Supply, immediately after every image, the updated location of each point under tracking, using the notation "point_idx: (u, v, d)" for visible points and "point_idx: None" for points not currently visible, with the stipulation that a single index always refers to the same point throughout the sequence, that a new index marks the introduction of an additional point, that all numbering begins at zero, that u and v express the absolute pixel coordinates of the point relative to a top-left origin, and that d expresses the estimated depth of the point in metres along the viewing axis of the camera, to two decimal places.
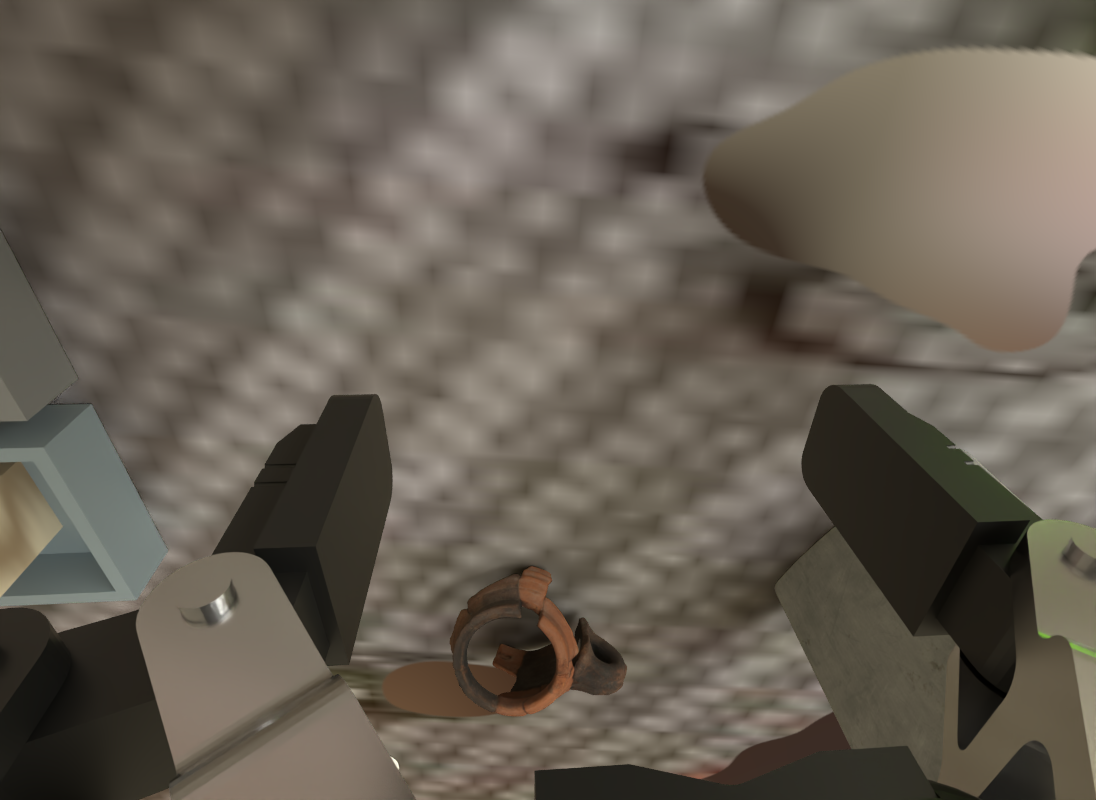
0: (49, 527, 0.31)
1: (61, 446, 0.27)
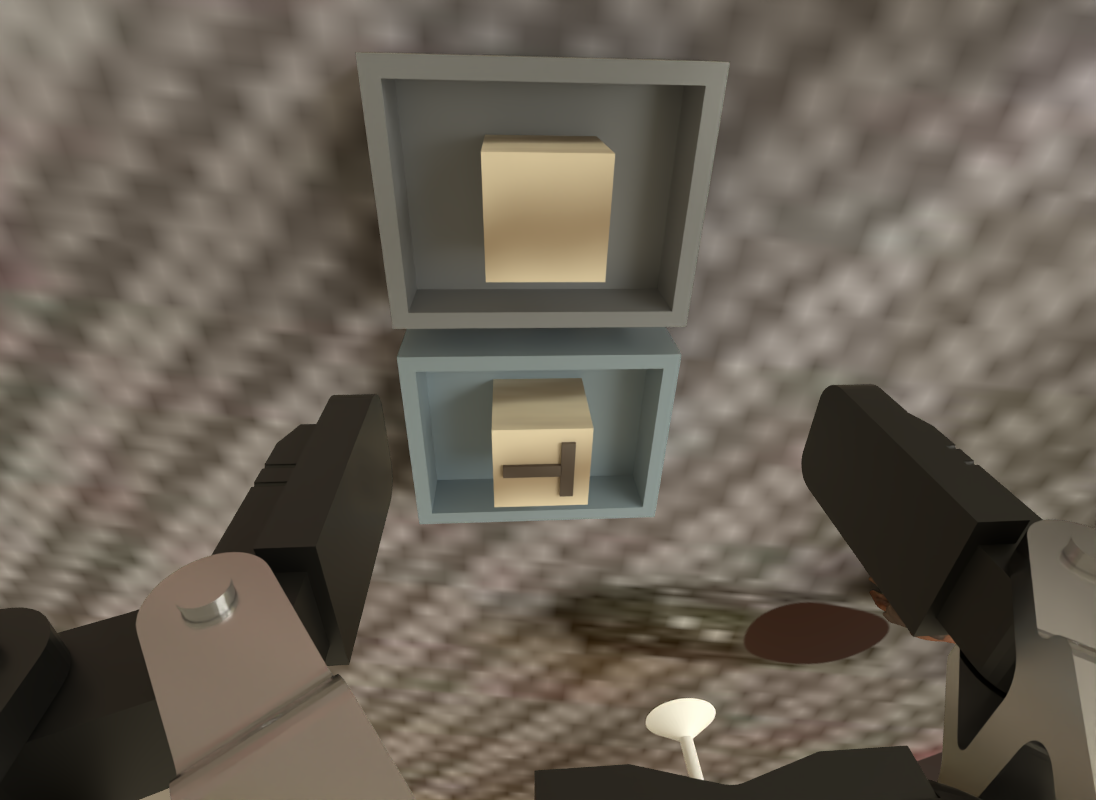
0: None
1: None
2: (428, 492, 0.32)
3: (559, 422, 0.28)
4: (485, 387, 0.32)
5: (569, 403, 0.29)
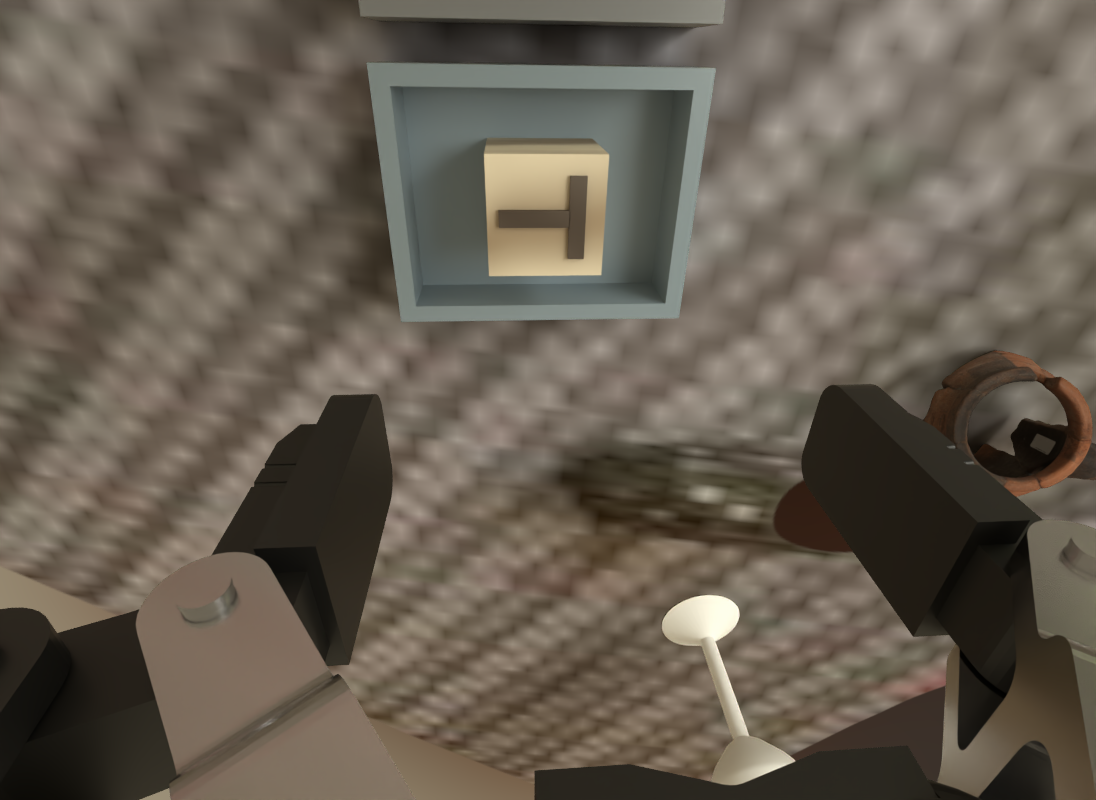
0: None
1: None
2: (410, 274, 0.26)
3: (566, 151, 0.23)
4: (477, 150, 0.27)
5: (579, 146, 0.24)
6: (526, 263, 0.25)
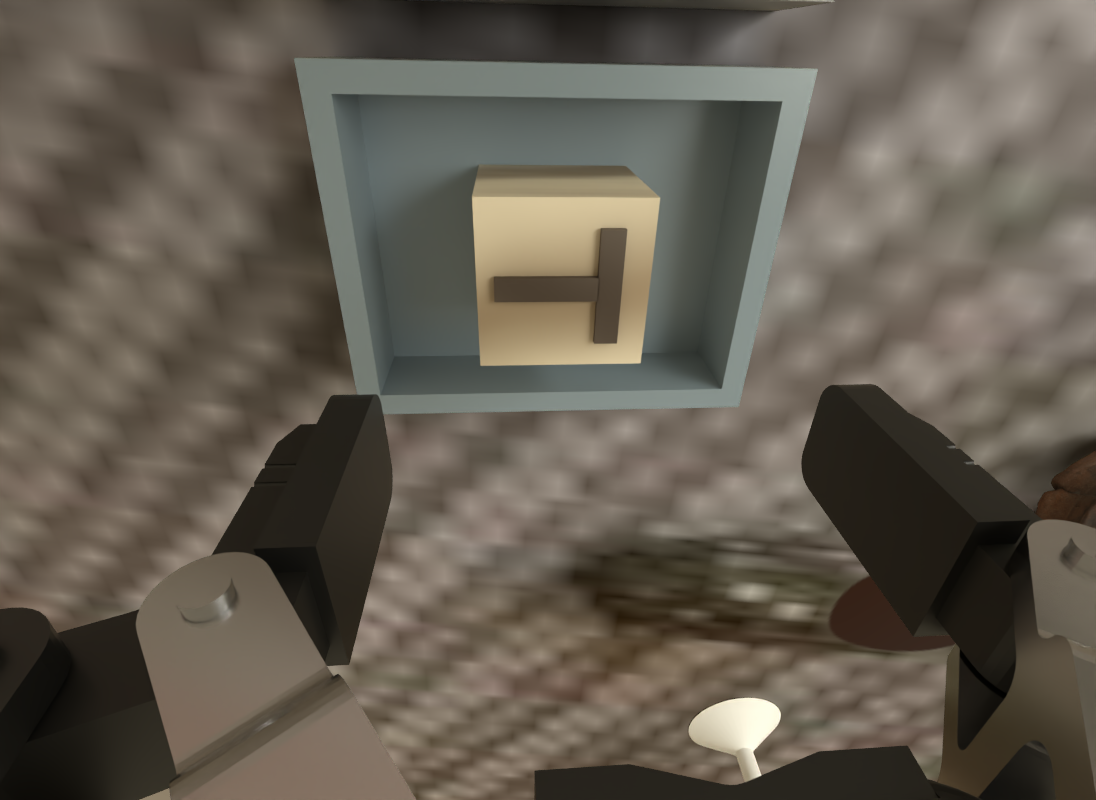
0: None
1: None
2: (372, 354, 0.19)
3: (595, 192, 0.15)
4: (466, 182, 0.19)
5: (610, 180, 0.17)
6: (534, 348, 0.17)
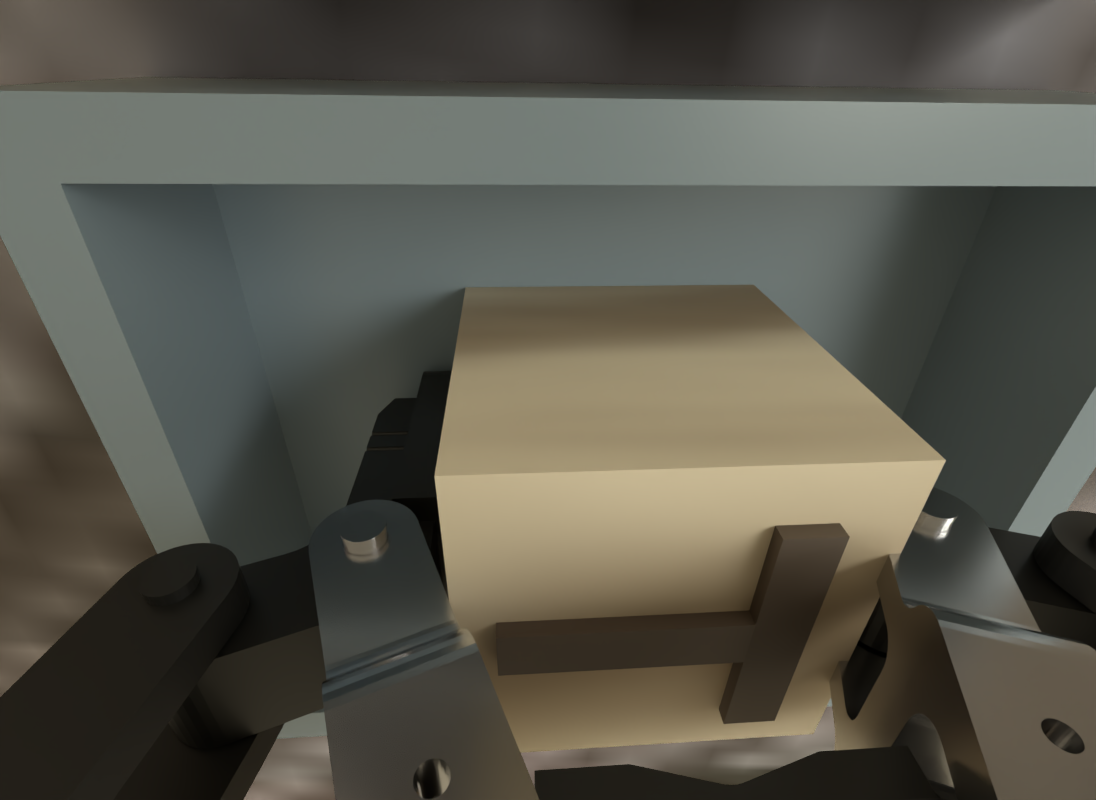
0: None
1: None
2: None
3: (758, 429, 0.06)
4: (443, 318, 0.10)
5: (761, 356, 0.07)
6: (587, 727, 0.08)
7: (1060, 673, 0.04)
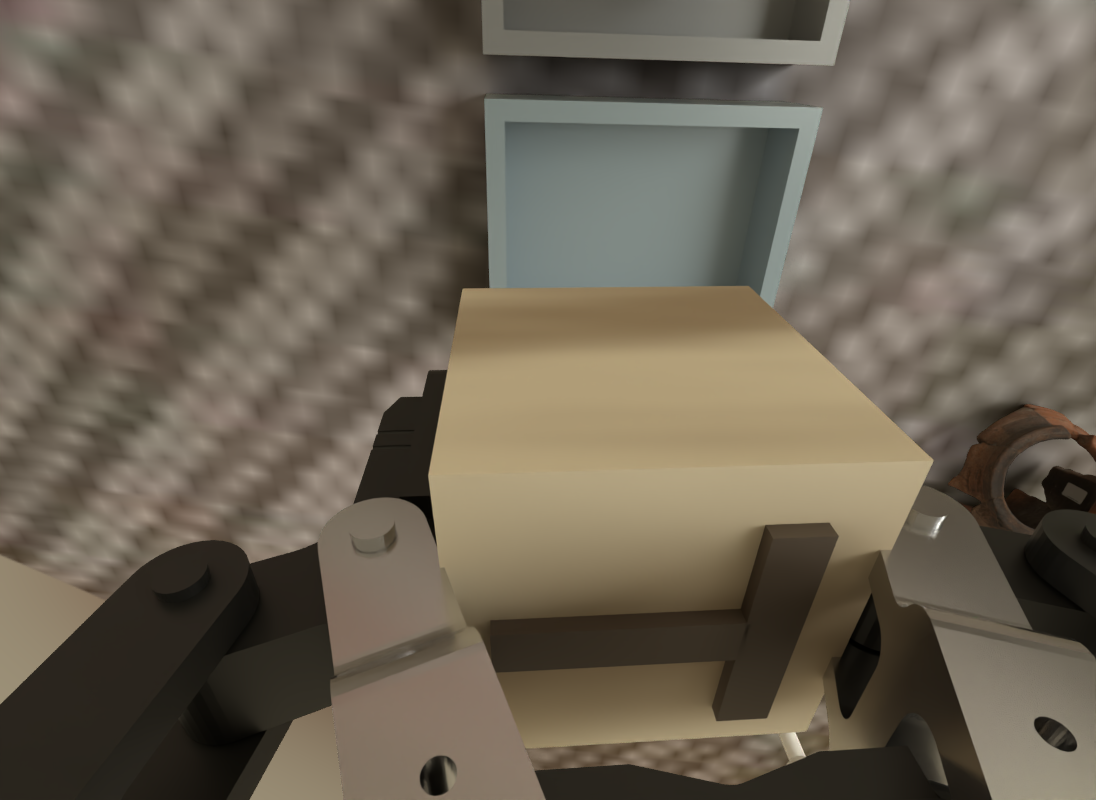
0: None
1: None
2: None
3: (749, 428, 0.06)
4: (573, 181, 0.27)
5: (754, 358, 0.07)
6: (581, 724, 0.08)
7: (1051, 670, 0.04)
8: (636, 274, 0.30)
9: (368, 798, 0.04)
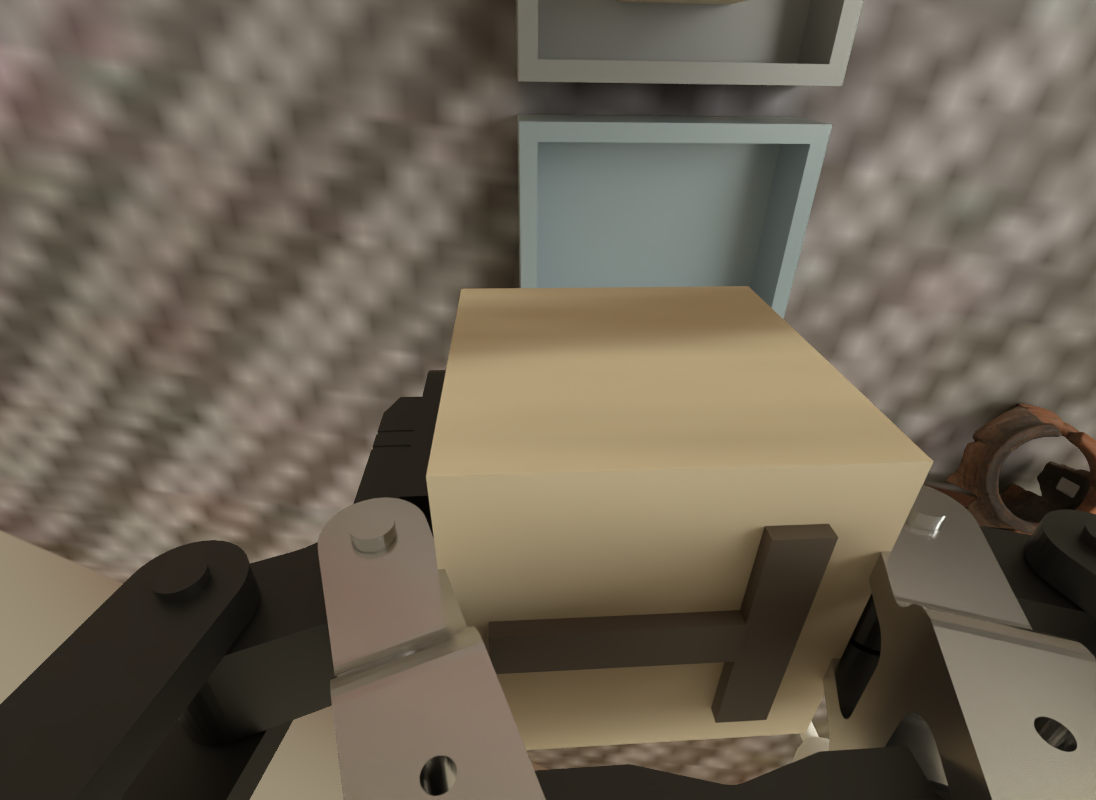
0: None
1: None
2: None
3: (748, 429, 0.06)
4: (597, 193, 0.29)
5: (753, 357, 0.07)
6: (580, 726, 0.08)
7: (1051, 670, 0.04)
8: (656, 279, 0.31)
9: (367, 798, 0.04)
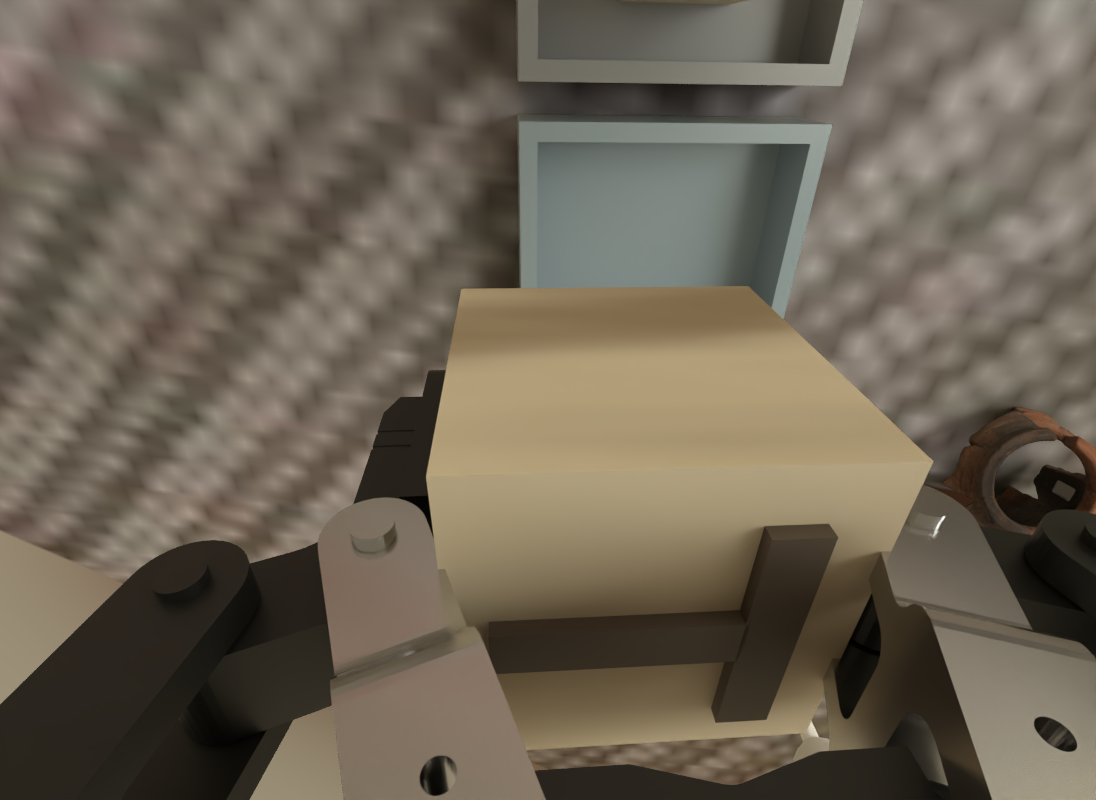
0: None
1: None
2: None
3: (748, 429, 0.06)
4: (597, 193, 0.29)
5: (753, 357, 0.07)
6: (580, 726, 0.08)
7: (1051, 670, 0.04)
8: (656, 279, 0.31)
9: (367, 798, 0.04)
